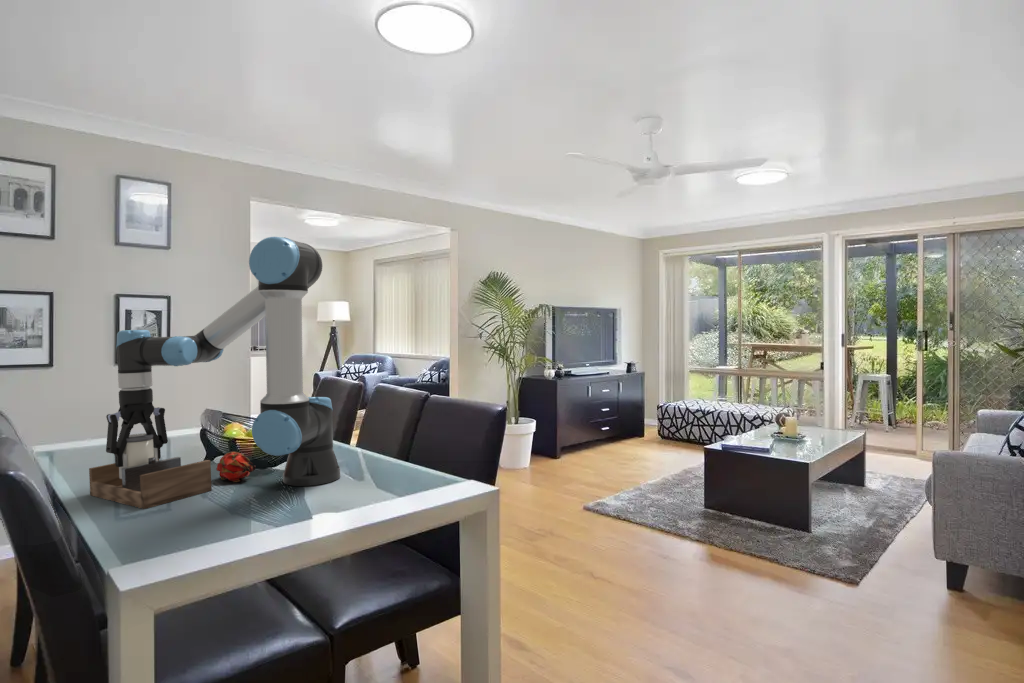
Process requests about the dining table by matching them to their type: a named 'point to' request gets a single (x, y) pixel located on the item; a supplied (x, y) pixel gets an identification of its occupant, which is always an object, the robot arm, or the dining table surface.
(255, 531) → the dining table surface
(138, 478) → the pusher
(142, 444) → the jar
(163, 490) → the wooden box
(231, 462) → the dragon fruit
